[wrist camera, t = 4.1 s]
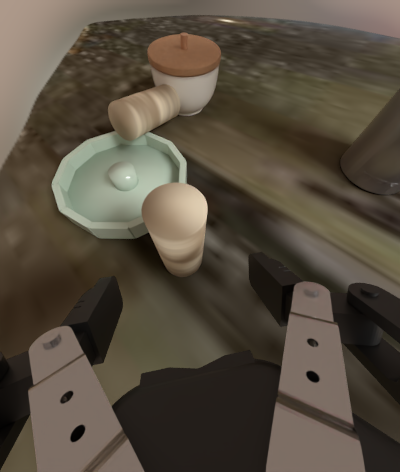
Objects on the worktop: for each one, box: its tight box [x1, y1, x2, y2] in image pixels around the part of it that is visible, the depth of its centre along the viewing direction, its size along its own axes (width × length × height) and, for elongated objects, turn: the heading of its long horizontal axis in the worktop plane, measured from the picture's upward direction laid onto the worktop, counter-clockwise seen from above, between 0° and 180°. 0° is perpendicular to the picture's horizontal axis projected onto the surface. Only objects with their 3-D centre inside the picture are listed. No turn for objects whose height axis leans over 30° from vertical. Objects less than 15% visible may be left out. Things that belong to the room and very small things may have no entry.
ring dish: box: [51, 131, 187, 239], centre depth 25 cm, size 16×16×3 cm
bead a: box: [141, 183, 208, 277], centre depth 17 cm, size 4×4×10 cm
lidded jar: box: [147, 33, 221, 116], centre depth 30 cm, size 11×11×9 cm
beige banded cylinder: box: [108, 84, 180, 141], centre depth 26 cm, size 4×4×10 cm
